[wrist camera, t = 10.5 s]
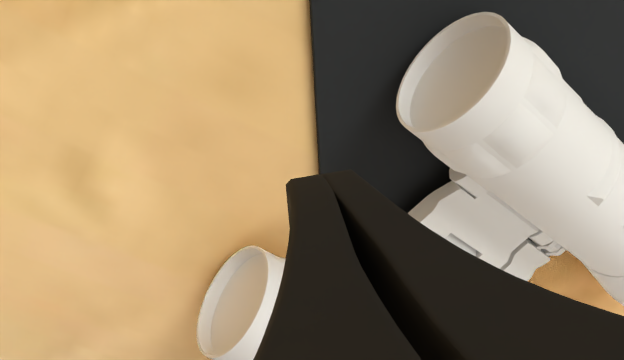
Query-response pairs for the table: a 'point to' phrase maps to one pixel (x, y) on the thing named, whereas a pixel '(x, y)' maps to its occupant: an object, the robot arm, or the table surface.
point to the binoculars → (475, 175)
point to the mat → (401, 52)
